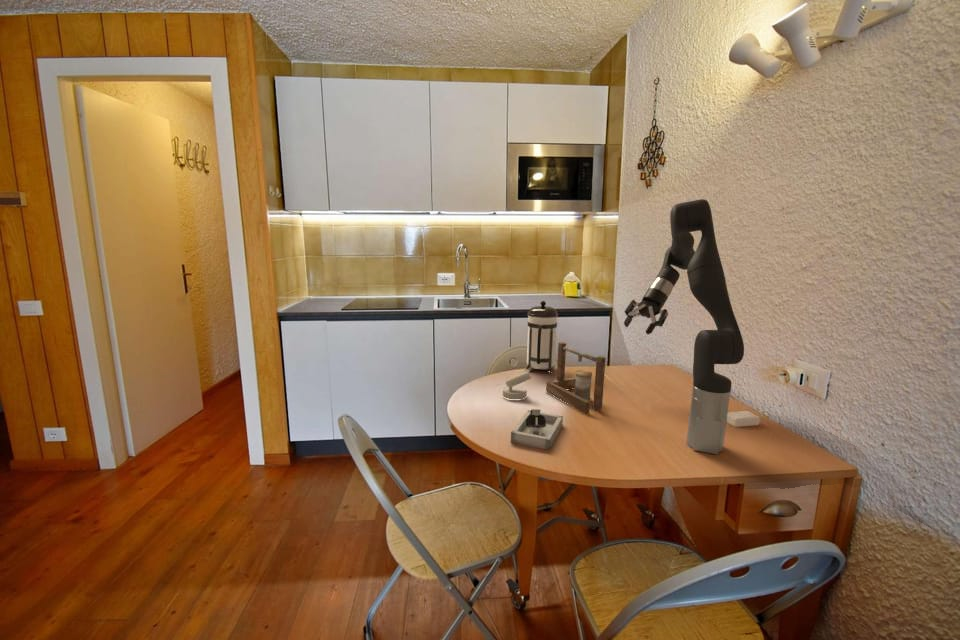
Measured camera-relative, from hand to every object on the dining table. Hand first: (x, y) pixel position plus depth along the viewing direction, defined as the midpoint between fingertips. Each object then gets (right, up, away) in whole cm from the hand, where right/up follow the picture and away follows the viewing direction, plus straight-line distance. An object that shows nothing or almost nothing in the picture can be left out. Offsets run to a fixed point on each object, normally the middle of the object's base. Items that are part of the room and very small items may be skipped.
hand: (636, 329), depth 157 cm
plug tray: (-39, -30, -28) cm, 56 cm away
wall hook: (-43, -24, +2) cm, 49 cm away
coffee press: (-30, -18, +32) cm, 48 cm away
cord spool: (-19, -25, 0) cm, 32 cm away
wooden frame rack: (-20, -25, 0) cm, 32 cm away
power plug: (-40, -29, -26) cm, 56 cm away
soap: (+27, -30, -18) cm, 44 cm away
